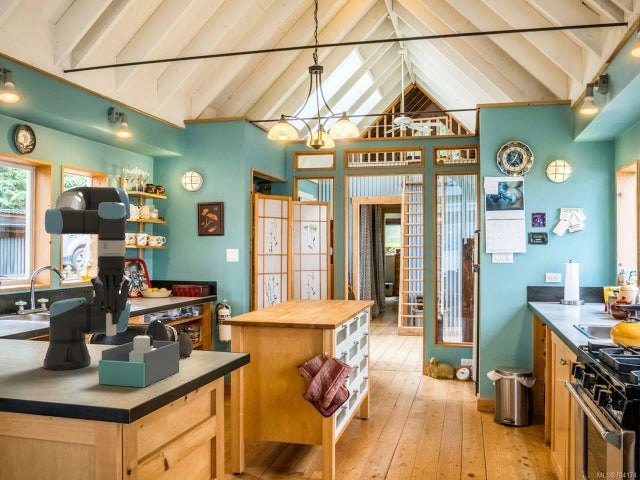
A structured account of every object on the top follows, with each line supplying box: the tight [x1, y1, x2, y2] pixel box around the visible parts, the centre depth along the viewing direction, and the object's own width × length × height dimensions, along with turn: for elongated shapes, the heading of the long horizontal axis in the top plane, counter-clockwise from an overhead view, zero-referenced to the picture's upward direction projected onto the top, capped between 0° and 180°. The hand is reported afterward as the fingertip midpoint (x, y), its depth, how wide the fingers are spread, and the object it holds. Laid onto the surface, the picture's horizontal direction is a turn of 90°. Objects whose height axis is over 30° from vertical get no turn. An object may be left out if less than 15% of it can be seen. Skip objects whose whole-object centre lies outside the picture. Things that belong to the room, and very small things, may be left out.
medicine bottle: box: [129, 334, 156, 363], centre depth 176 cm, size 7×7×12 cm
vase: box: [175, 332, 194, 358], centre depth 209 cm, size 7×7×9 cm
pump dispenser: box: [144, 319, 171, 342], centre depth 200 cm, size 10×10×15 cm
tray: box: [98, 359, 146, 388], centre depth 174 cm, size 15×20×7 cm
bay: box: [101, 341, 180, 388], centre depth 175 cm, size 15×20×10 cm
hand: (111, 335), depth 160 cm, fingers closed
